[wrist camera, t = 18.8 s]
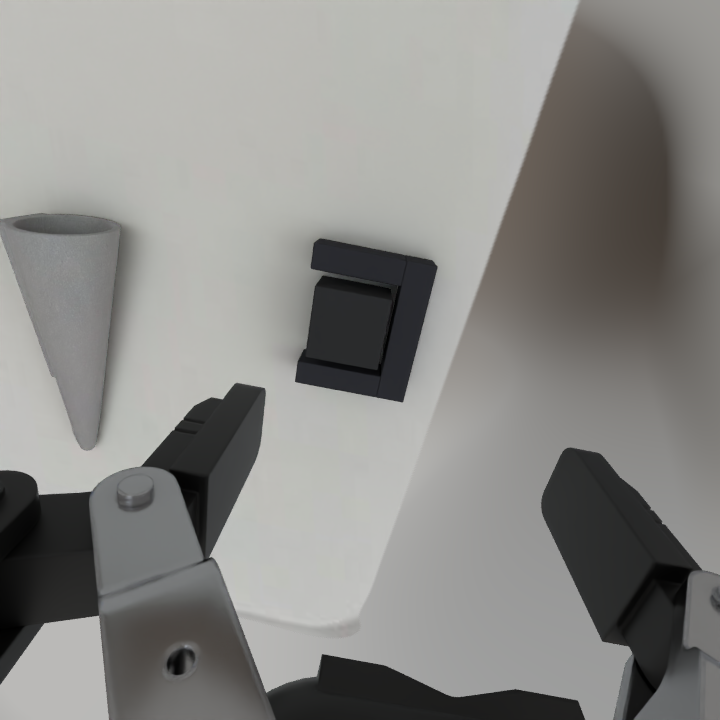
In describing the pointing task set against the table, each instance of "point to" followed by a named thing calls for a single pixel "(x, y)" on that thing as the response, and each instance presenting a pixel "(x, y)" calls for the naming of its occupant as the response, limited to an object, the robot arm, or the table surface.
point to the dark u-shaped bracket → (404, 323)
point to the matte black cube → (348, 322)
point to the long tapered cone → (68, 302)
